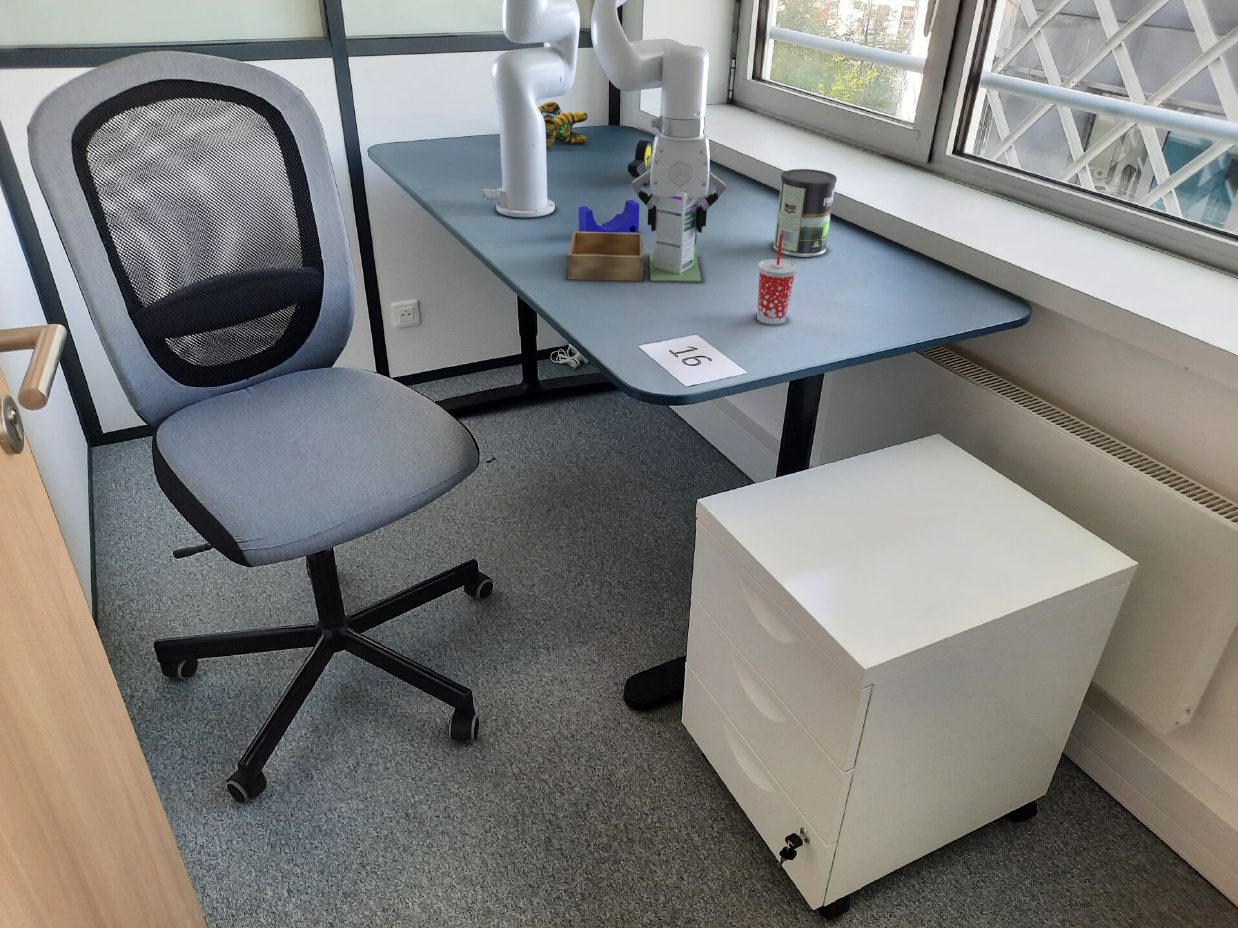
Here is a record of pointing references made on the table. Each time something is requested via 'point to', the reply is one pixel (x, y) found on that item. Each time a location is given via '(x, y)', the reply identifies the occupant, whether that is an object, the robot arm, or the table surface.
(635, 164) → the decorative sign
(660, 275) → the mat
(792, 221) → the coffee can
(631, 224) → the cable clip
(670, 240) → the syrup box
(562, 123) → the dog figurine
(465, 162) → the table surface
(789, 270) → the beverage cup
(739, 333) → the table surface
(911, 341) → the table surface
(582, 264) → the tray
